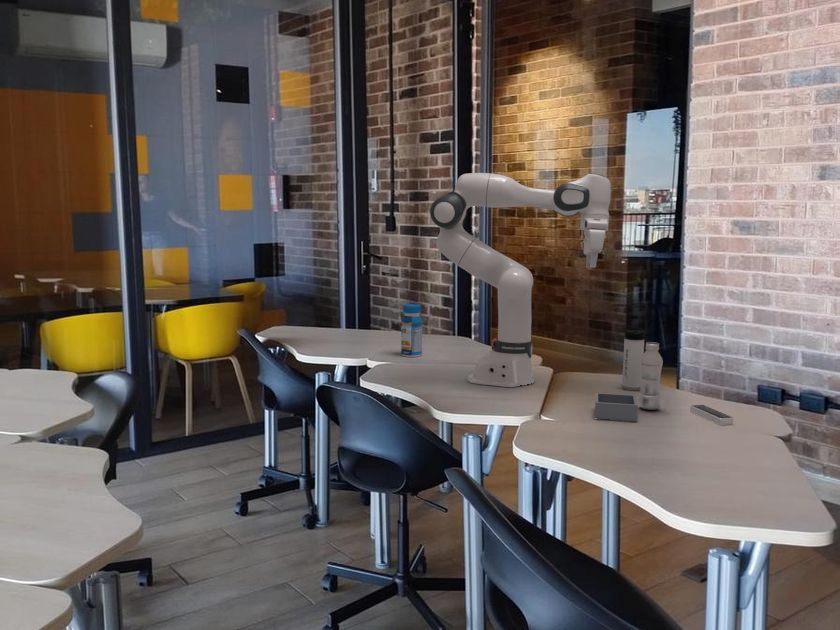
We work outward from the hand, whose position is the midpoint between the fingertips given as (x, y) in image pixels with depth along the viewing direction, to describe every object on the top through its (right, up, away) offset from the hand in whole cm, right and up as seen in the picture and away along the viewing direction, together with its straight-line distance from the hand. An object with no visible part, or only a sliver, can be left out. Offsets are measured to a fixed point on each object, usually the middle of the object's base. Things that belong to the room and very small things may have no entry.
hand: (591, 267), depth 258 cm
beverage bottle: (-59, -31, +54) cm, 86 cm away
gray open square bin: (+1, -44, -26) cm, 51 cm away
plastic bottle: (+13, -44, -20) cm, 49 cm away
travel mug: (+15, -40, +5) cm, 42 cm away
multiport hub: (+28, -45, -28) cm, 60 cm away
